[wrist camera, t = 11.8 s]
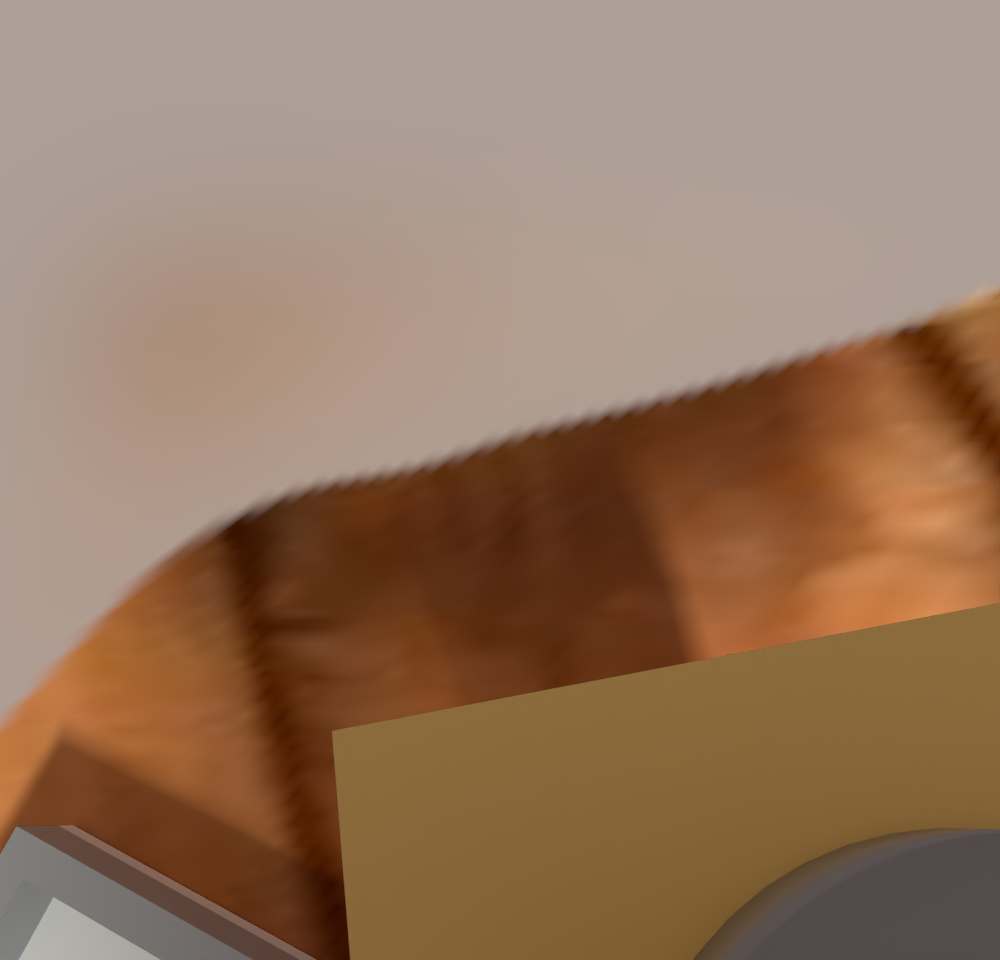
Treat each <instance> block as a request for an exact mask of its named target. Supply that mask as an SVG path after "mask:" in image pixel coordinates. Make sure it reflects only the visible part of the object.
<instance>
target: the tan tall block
mask: <svg viewBox="0 0 1000 960" xmlns="http://www.w3.org/2000/svg"><path fill="white" fill-rule="evenodd" d="M332 740H333V752H334V764H335V777H336V789H337V802H338V814H339V826H340V839H341V851H342V864H343V876H344V888H345V901H346V913H347V926H348V938H349V950H350V960H1000V603H997V604H992V605H987V606H981V607H976V608H971V609H966V610H961V611H955V612H950V613H945V614H940V615H934V616H929V617H924V618H919V619H914V620H908V621H903V622H898V623H893V624H887V625H882V626H877V627H872V628H867V629H861V630H856V631H851V632H846V633H840V634H835V635H830V636H825V637H820V638H814V639H809V640H804V641H799V642H793V643H788V644H783V645H778V646H773V647H767V648H762V649H757V650H752V651H746V652H741V653H736V654H731V655H726V656H720V657H715V658H710V659H705V660H699V661H694V662H689V663H684V664H679V665H673V666H668V667H663V668H658V669H652V670H647V671H642V672H637V673H632V674H626V675H621V676H616V677H611V678H605V679H600V680H595V681H590V682H585V683H579V684H574V685H569V686H564V687H558V688H553V689H548V690H543V691H538V692H532V693H527V694H522V695H517V696H511V697H506V698H501V699H496V700H491V701H485V702H480V703H475V704H470V705H464V706H459V707H454V708H449V709H444V710H438V711H433V712H428V713H423V714H417V715H412V716H407V717H402V718H397V719H391V720H386V721H381V722H376V723H370V724H365V725H360V726H355V727H350V728H344V729H339V730H334V731H332Z"/></svg>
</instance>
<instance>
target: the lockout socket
mask: <svg viewBox="0 0 1000 960" xmlns="http://www.w3.org/2000/svg"><path fill="white" fill-rule="evenodd" d="M0 960H316V959H315V958H313V957H311V956H309V955H307V954H306V953H304V952H302V951H300V950H298V949H296V948H295V947H293V946H291V945H289V944H287V943H286V942H284V941H282V940H280V939H278V938H277V937H275V936H273V935H271V934H269V933H267V932H266V931H264V930H262V929H260V928H258V927H257V926H255V925H253V924H251V923H249V922H248V921H246V920H244V919H242V918H240V917H239V916H237V915H235V914H233V913H231V912H229V911H228V910H226V909H224V908H222V907H220V906H219V905H217V904H215V903H213V902H211V901H210V900H208V899H206V898H204V897H202V896H200V895H199V894H197V893H195V892H193V891H191V890H190V889H188V888H186V887H184V886H182V885H181V884H179V883H177V882H175V881H173V880H172V879H170V878H168V877H166V876H164V875H162V874H161V873H159V872H157V871H155V870H153V869H152V868H150V867H148V866H146V865H144V864H143V863H141V862H139V861H137V860H135V859H133V858H132V857H130V856H128V855H126V854H124V853H123V852H121V851H119V850H117V849H115V848H114V847H112V846H110V845H108V844H106V843H105V842H103V841H101V840H99V839H97V838H95V837H94V836H92V835H90V834H88V833H86V832H85V831H83V830H81V829H79V828H77V827H76V826H74V825H62V826H16V828H15V830H14V831H13V833H12V835H11V837H10V838H9V840H8V842H7V843H6V845H5V847H4V849H3V850H2V852H1V854H0Z"/></svg>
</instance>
